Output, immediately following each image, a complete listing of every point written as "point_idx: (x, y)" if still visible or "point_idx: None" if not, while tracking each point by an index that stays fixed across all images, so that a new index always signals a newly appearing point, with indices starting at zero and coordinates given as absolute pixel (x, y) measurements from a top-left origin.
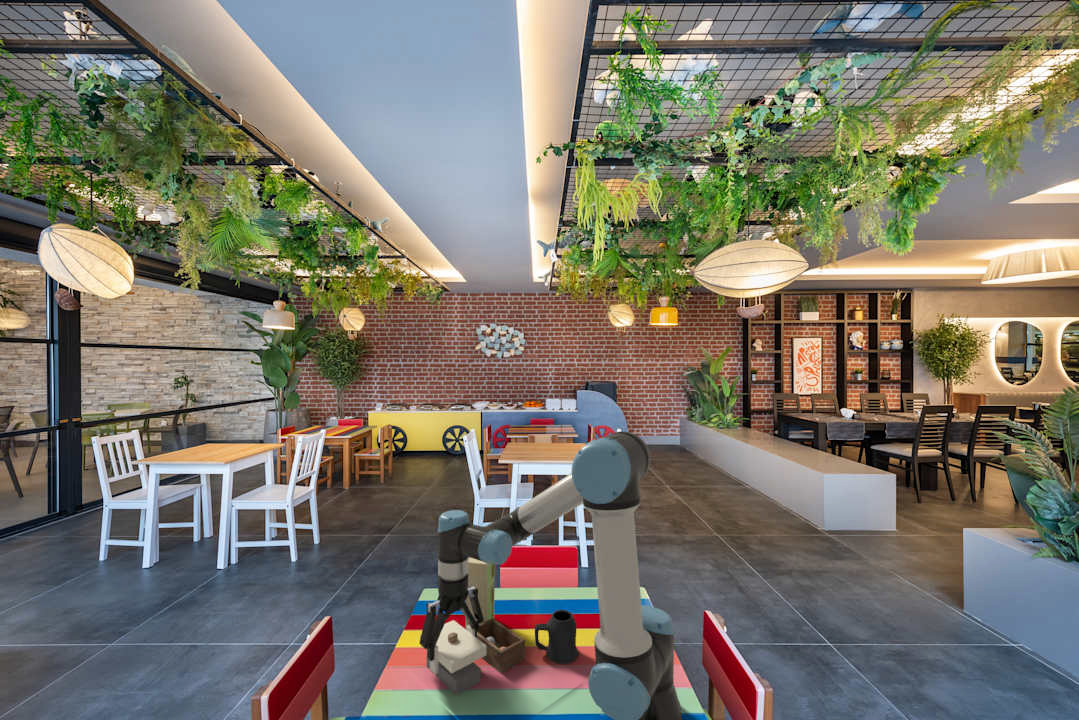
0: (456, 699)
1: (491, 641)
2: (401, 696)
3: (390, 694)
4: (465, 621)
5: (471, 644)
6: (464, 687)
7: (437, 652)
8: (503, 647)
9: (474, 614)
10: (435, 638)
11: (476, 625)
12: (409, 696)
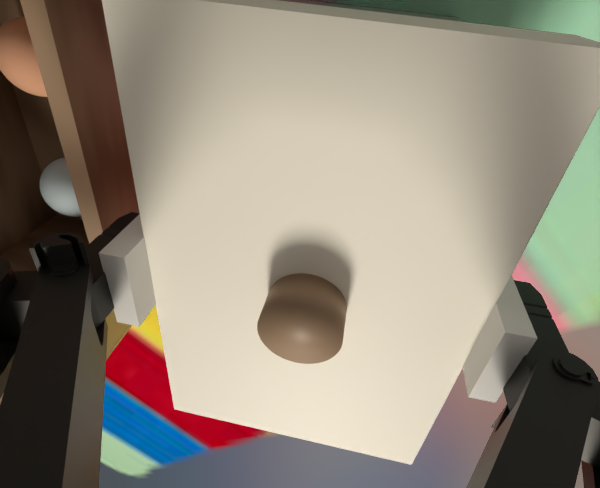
0: (462, 11)
1: (60, 176)
2: (586, 258)
3: (596, 299)
4: (111, 352)
5: (222, 144)
6: (399, 13)
7: (503, 297)
8: (10, 66)
9: (7, 367)
10: (570, 429)
11: (59, 268)
12: (569, 231)
